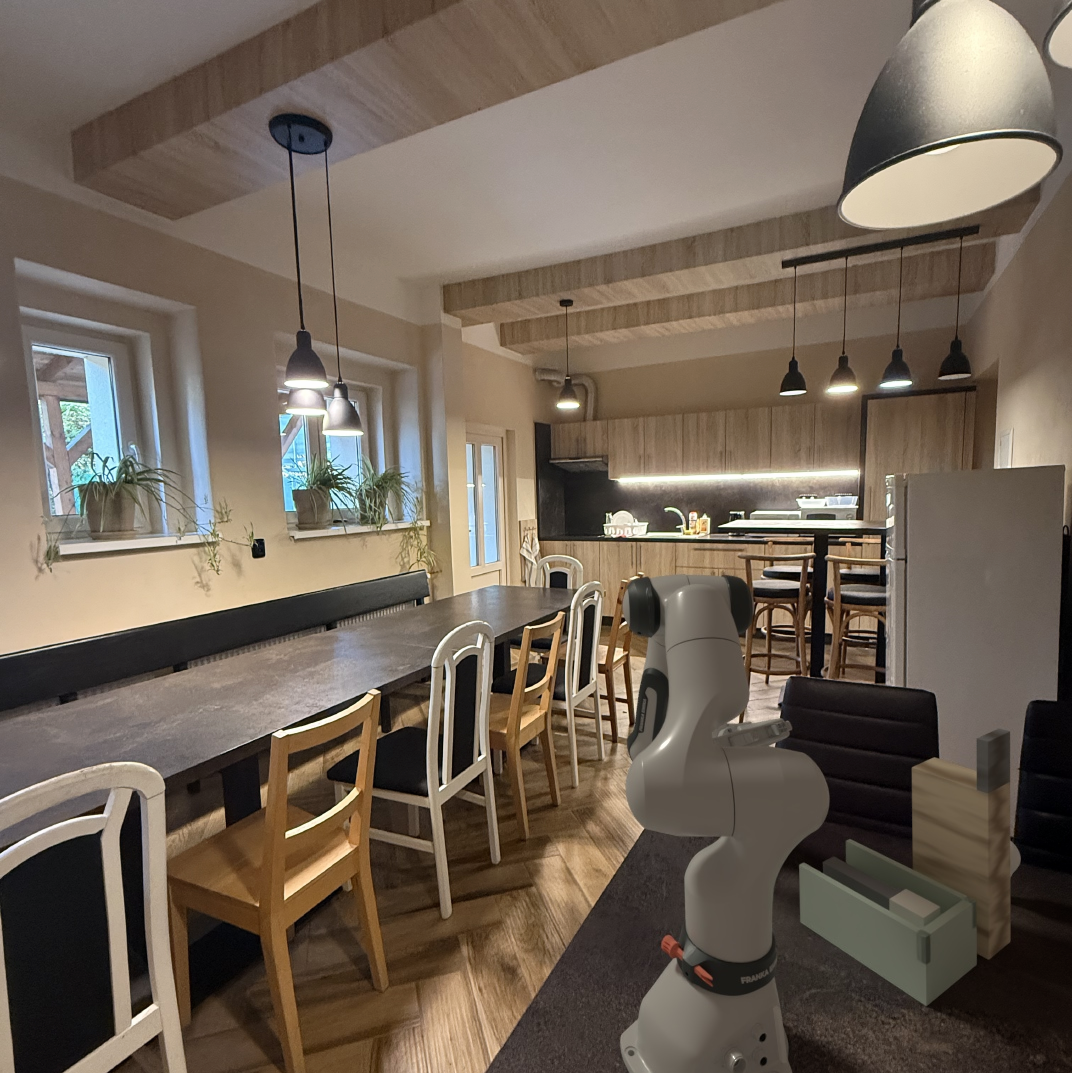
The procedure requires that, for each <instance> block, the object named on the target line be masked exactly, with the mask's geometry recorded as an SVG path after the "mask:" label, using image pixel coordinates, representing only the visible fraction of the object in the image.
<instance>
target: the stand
mask: <svg viewBox="0 0 1072 1073" xmlns="http://www.w3.org/2000/svg"><path fill="white" fill-rule="evenodd" d="M911 807H912V808H911V812H912V814H911V817H912V819H911V821H912V823H911V824H912V830H911V831H912V833H911V834H912V870H914V871H917V872H919V873H921V874H923V875H925V876H927V877H929V878H931V879H933V880H935V881H937V882H939V883H941V884H943V885H945V886H947V887H949V888H951V889H953V890H955V891H957V892H959V893H962V894H964V895H966V896H968V897H970V898H972V899H974V900H976V915H977V955H979V956H981V957H982V958H984V959H987V960H988V961H989V960H991V959H992V958H993V957H994V956H996V954H998V953H999V952H1000V951H1002V950H1003V949H1004V948H1005V947H1006V946H1007V945H1008V944H1010V943H1011V878H1010V841H1011V731H1010V730H1007V729H1003V728H997V729H994V730H992V731H990V732H987V733H986V734H983V735H982V736H979V737H977V738H976V769H972V768H969V767H966V766H964V765H960V764H958V763H954V762H951V761H949V760H944V759H942V758H938V757H932V758H930V759H927V760H925V761H923V762H921V763H919V764H916V765H914V766H912V767H911Z"/></svg>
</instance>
